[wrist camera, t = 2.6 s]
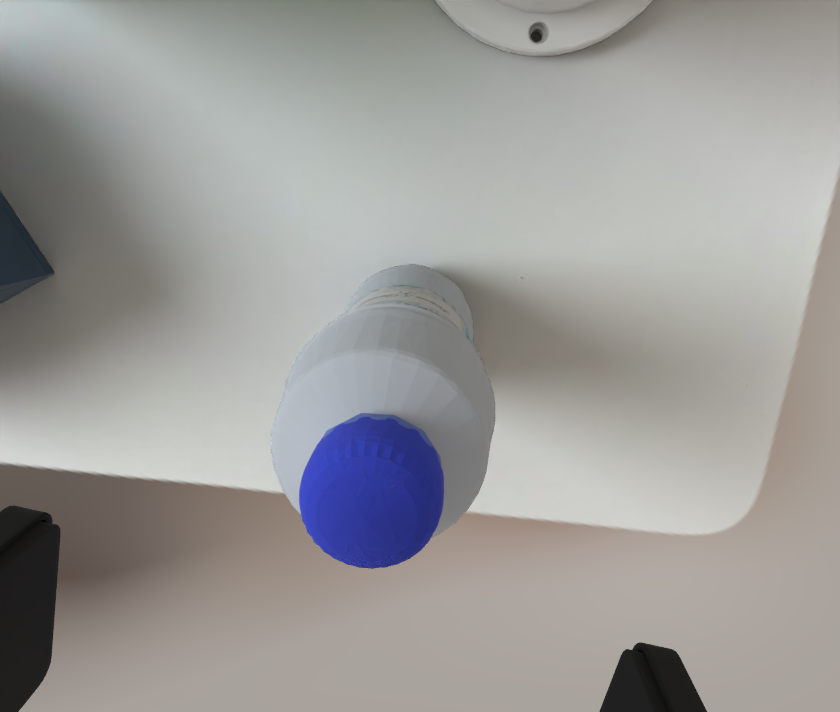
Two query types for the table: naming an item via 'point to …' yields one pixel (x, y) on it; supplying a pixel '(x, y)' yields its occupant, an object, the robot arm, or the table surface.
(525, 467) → the table surface
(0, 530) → the robot arm
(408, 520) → the bottle
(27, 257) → the bin
